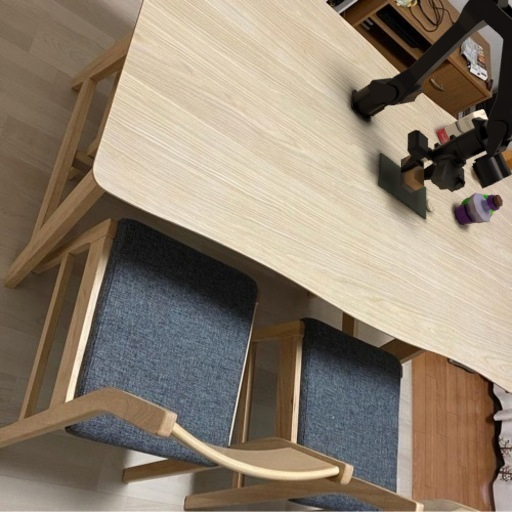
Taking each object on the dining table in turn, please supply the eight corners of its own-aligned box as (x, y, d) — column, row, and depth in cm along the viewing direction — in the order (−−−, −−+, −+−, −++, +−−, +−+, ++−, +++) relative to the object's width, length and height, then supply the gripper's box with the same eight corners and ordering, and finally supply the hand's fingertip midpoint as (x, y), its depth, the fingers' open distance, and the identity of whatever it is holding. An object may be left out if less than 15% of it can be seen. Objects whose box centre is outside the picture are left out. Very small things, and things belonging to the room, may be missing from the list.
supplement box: (485, 180, 176) (516, 167, 169) (481, 170, 177) (512, 156, 170) (489, 179, 179) (520, 166, 172) (485, 169, 179) (516, 155, 172)
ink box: (443, 147, 165) (480, 128, 157) (435, 131, 165) (472, 111, 157) (454, 142, 171) (491, 124, 163) (447, 127, 171) (483, 108, 163)
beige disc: (426, 207, 147) (428, 206, 146) (426, 198, 148) (428, 197, 148) (430, 213, 149) (433, 213, 148) (430, 204, 150) (433, 203, 150)
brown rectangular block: (399, 185, 137) (413, 178, 134) (400, 159, 141) (414, 152, 138) (410, 193, 139) (424, 186, 136) (410, 167, 143) (424, 160, 140)
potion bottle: (450, 196, 158) (490, 178, 150) (468, 210, 163) (508, 194, 154) (450, 221, 154) (492, 205, 146) (469, 236, 158) (510, 220, 150)
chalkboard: (378, 185, 137) (380, 184, 136) (379, 153, 142) (381, 152, 141) (424, 219, 145) (426, 218, 145) (424, 188, 150) (426, 187, 150)
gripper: (439, 153, 120) (380, 182, 131) (488, 195, 129) (430, 219, 140) (438, 114, 125) (382, 146, 136) (486, 157, 135) (430, 183, 146)
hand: (406, 175), depth 140 cm, fingers closed on brown rectangular block, 4 cm apart
